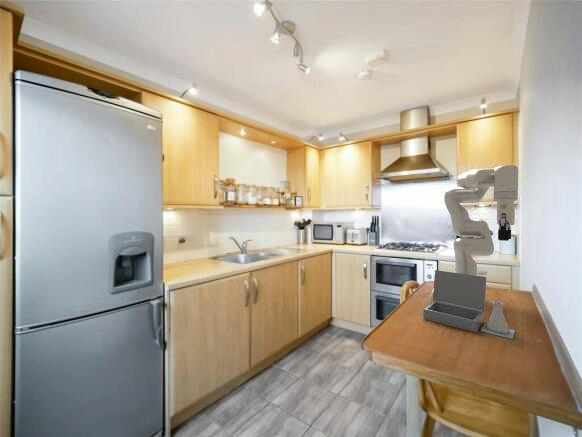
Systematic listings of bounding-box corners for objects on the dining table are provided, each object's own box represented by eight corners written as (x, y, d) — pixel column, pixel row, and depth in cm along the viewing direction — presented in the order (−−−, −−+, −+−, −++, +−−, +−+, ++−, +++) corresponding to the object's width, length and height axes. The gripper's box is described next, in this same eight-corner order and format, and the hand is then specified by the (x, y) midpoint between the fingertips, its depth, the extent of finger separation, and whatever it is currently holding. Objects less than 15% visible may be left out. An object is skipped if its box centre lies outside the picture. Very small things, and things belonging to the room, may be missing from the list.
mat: (484, 324, 104) (484, 323, 104) (514, 331, 97) (514, 330, 97) (480, 331, 97) (480, 330, 97) (512, 339, 91) (512, 338, 91)
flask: (486, 324, 103) (487, 298, 103) (510, 329, 98) (511, 303, 98) (483, 330, 97) (484, 303, 97) (509, 336, 92) (509, 307, 92)
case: (434, 309, 119) (434, 299, 119) (483, 321, 107) (483, 309, 107) (423, 318, 109) (423, 307, 109) (476, 332, 96) (476, 319, 96)
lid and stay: (434, 301, 122) (434, 269, 122) (485, 312, 108) (486, 276, 108) (428, 306, 115) (428, 272, 115) (482, 318, 102) (482, 280, 102)
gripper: (516, 195, 96) (515, 241, 97) (519, 197, 109) (518, 239, 109) (490, 196, 102) (489, 240, 102) (496, 198, 114) (495, 238, 114)
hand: (504, 239), depth 105 cm, fingers open, 9 cm apart
